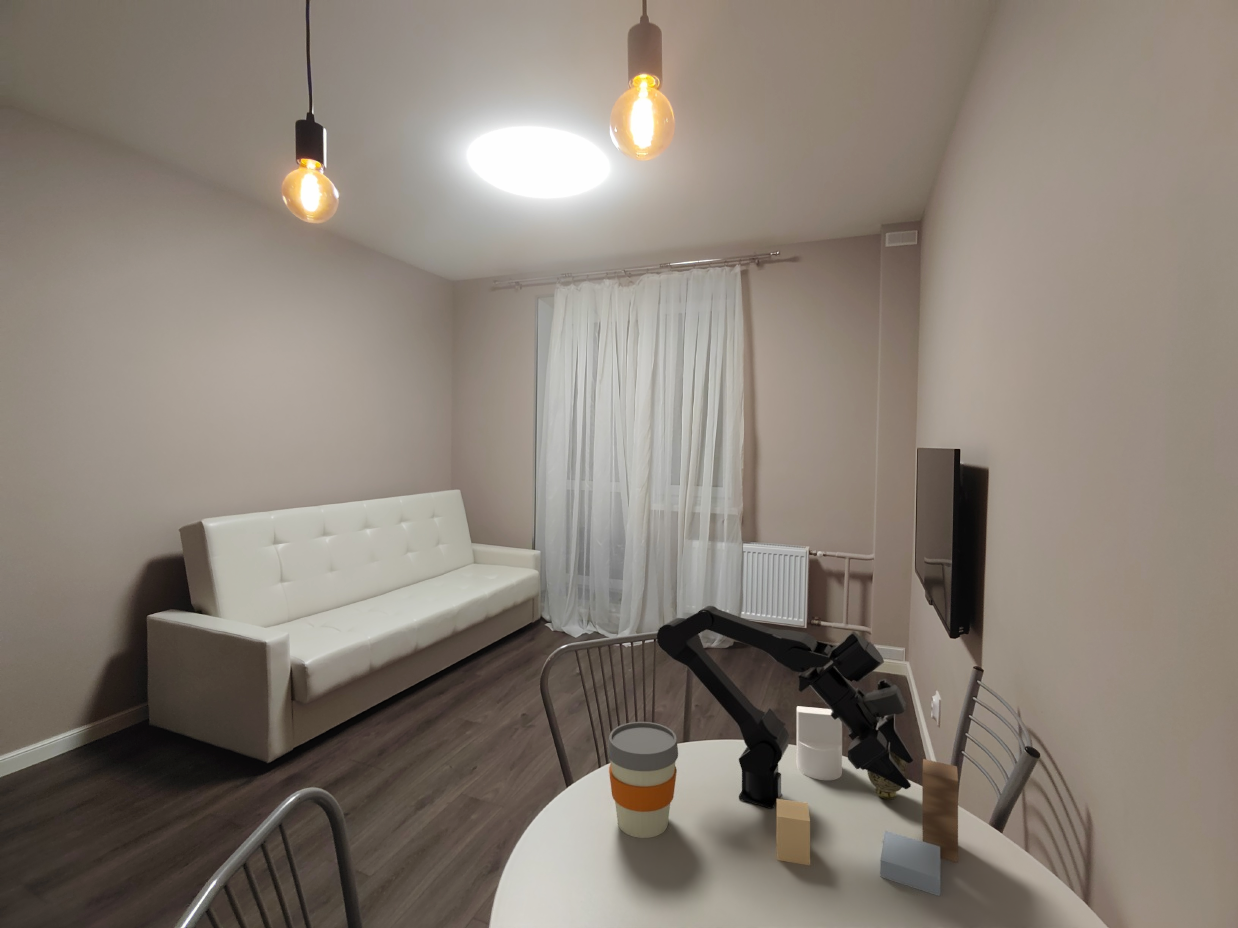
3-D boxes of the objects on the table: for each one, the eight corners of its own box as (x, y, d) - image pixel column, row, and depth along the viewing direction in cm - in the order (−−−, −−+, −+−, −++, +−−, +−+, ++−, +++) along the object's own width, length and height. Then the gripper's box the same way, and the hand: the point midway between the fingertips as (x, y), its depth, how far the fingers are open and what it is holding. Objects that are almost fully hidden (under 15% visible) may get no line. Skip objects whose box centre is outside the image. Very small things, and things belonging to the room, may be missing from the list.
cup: (912, 809, 104) (912, 765, 104) (869, 804, 106) (869, 761, 106) (901, 787, 111) (901, 746, 112) (861, 782, 113) (861, 742, 113)
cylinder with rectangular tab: (798, 777, 115) (798, 718, 115) (794, 755, 124) (794, 700, 124) (845, 782, 113) (845, 722, 113) (838, 759, 122) (838, 704, 122)
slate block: (880, 878, 87) (880, 859, 87) (884, 848, 94) (884, 830, 94) (940, 898, 83) (940, 878, 83) (940, 865, 90) (940, 846, 90)
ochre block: (777, 859, 91) (777, 816, 91) (776, 839, 96) (776, 798, 96) (809, 865, 90) (810, 820, 90) (807, 844, 95) (807, 802, 95)
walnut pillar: (922, 851, 93) (922, 772, 93) (923, 834, 97) (923, 758, 97) (958, 862, 90) (958, 780, 90) (957, 844, 95) (957, 766, 95)
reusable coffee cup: (593, 819, 101) (593, 735, 101) (644, 792, 110) (644, 714, 110) (641, 855, 92) (641, 762, 92) (693, 823, 100) (693, 738, 100)
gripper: (868, 687, 91) (949, 775, 85) (879, 654, 107) (947, 725, 101) (818, 726, 94) (892, 812, 89) (835, 688, 111) (899, 758, 105)
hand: (910, 773), depth 96 cm, fingers open, 9 cm apart
